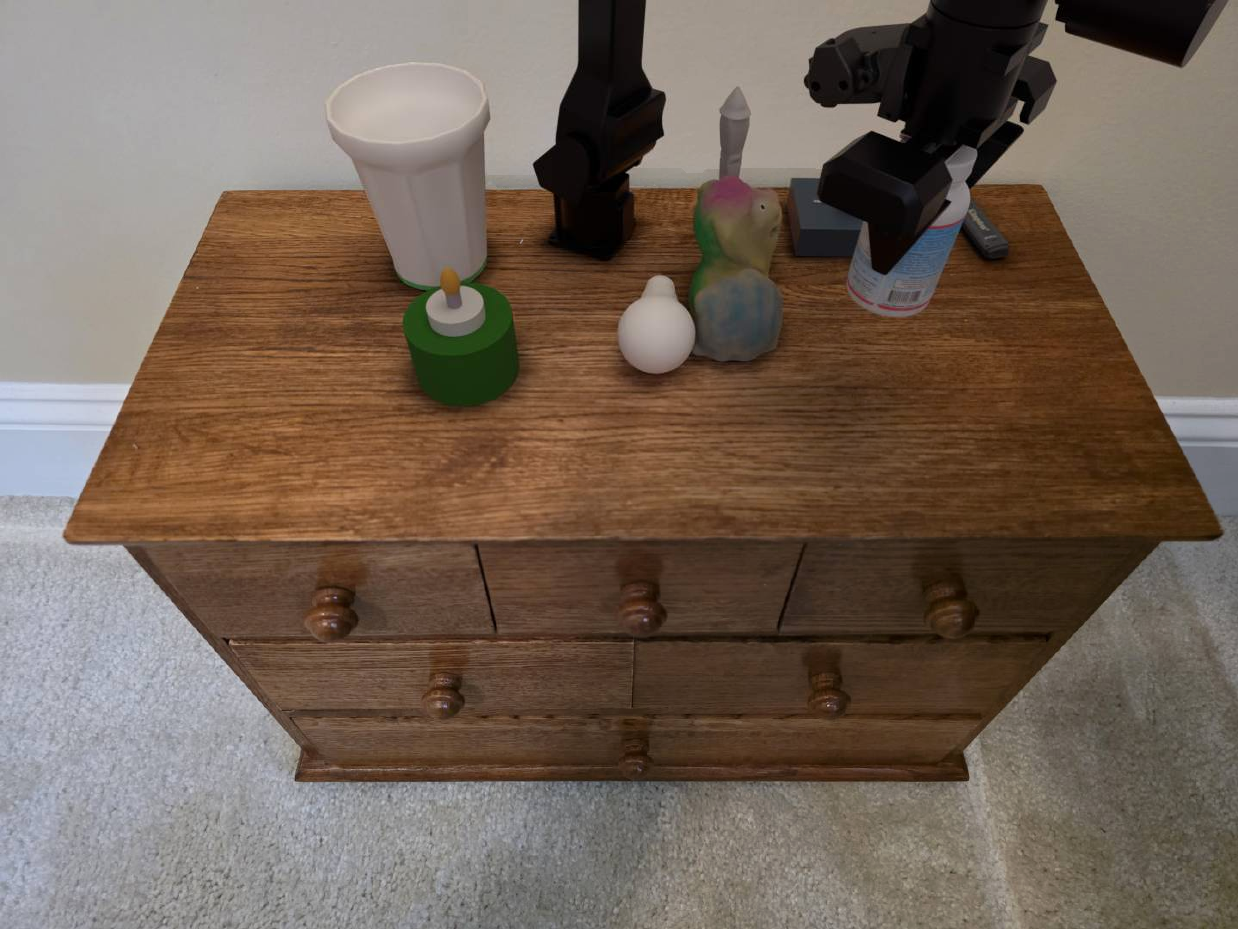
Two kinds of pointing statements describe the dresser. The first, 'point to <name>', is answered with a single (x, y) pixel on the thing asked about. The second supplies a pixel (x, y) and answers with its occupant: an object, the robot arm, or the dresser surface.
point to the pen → (733, 132)
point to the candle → (462, 342)
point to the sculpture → (735, 271)
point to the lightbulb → (656, 329)
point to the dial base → (819, 223)
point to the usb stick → (984, 233)
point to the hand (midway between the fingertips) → (903, 248)
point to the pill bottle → (913, 255)
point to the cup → (419, 163)
